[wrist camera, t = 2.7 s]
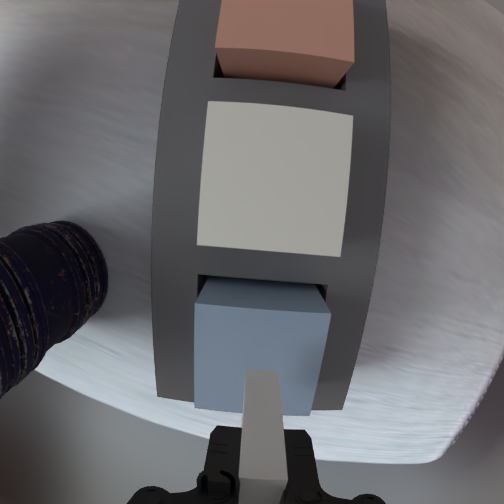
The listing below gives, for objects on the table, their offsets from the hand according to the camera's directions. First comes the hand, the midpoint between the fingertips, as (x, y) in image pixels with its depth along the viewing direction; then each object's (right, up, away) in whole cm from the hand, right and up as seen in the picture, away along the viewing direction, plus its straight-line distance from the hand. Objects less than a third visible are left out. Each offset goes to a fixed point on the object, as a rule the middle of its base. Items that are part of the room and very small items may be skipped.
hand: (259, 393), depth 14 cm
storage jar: (-18, +5, +12) cm, 22 cm away
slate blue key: (0, +2, +7) cm, 7 cm away
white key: (+1, +11, +5) cm, 12 cm away
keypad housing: (+1, +12, +10) cm, 16 cm away
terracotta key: (+2, +21, +3) cm, 21 cm away
